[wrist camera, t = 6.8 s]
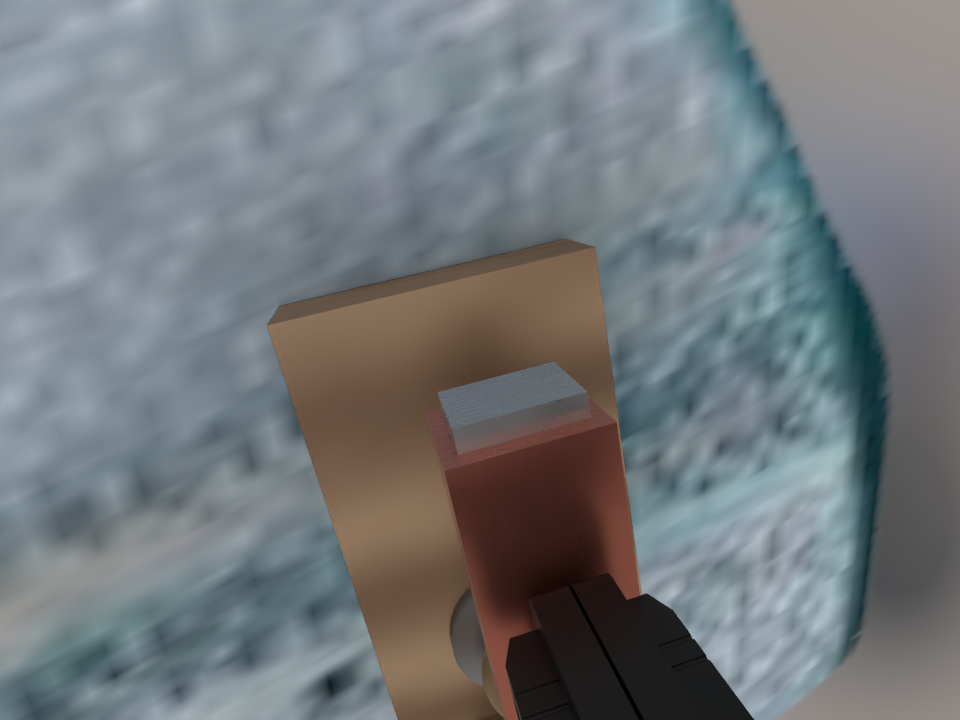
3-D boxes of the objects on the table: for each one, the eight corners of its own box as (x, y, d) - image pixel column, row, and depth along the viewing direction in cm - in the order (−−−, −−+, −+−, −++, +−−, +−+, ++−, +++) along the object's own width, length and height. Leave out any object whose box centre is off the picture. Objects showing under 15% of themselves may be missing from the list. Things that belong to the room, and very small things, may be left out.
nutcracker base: (631, 683, 30) (834, 1051, 17) (423, 756, 28) (477, 1214, 16) (565, 239, 22) (836, 311, 10) (278, 306, 21) (161, 492, 8)
